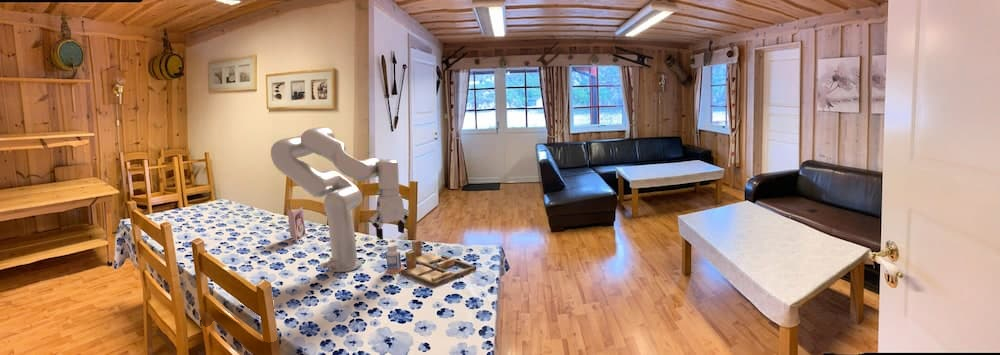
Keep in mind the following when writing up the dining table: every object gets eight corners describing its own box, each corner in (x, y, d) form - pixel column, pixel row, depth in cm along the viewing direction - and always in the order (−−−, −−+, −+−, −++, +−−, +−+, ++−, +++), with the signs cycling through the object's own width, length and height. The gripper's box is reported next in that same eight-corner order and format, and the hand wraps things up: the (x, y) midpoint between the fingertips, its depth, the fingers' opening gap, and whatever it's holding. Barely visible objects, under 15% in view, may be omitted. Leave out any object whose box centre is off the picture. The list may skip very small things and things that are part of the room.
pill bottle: (395, 265, 196) (393, 242, 195) (404, 267, 193) (402, 244, 191) (384, 269, 192) (382, 245, 190) (393, 272, 189) (391, 248, 187)
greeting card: (298, 243, 231) (295, 212, 228) (282, 244, 231) (279, 213, 228) (307, 236, 242) (304, 206, 239) (292, 236, 242) (288, 207, 239)
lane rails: (433, 287, 175) (433, 280, 174) (400, 273, 189) (400, 267, 188) (476, 269, 190) (476, 264, 189) (443, 258, 203) (442, 253, 203)
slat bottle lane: (439, 270, 190) (438, 253, 189) (408, 258, 204) (406, 242, 203) (454, 264, 196) (453, 247, 195) (423, 253, 210) (422, 238, 209)
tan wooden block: (415, 277, 185) (414, 259, 183) (401, 271, 191) (399, 254, 190) (432, 270, 190) (431, 253, 189) (417, 265, 197) (416, 248, 195)
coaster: (393, 274, 188) (393, 273, 188) (382, 270, 193) (382, 269, 193) (408, 269, 193) (408, 268, 193) (397, 265, 198) (397, 264, 197)
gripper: (374, 197, 178) (376, 242, 182) (413, 190, 190) (414, 232, 194) (363, 194, 183) (365, 238, 187) (402, 187, 196) (403, 228, 199)
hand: (390, 235), depth 190 cm, fingers open, 9 cm apart
